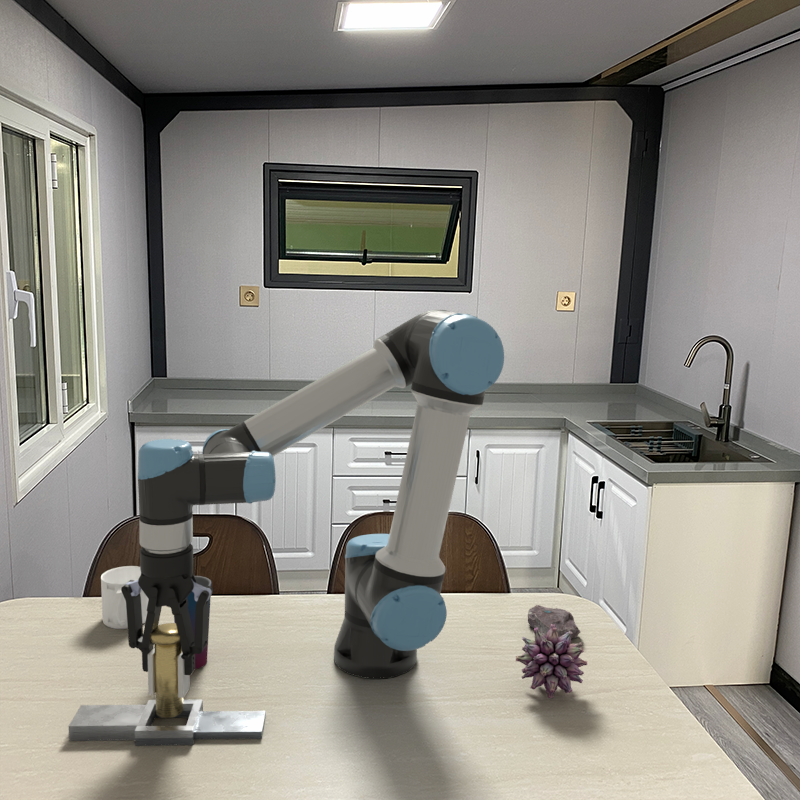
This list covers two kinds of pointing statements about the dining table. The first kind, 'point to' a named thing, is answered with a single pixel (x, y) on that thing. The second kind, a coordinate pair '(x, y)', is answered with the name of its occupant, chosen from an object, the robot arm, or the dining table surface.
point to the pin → (167, 670)
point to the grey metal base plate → (139, 720)
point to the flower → (552, 661)
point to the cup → (202, 657)
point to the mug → (119, 596)
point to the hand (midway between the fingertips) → (169, 691)
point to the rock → (552, 620)
